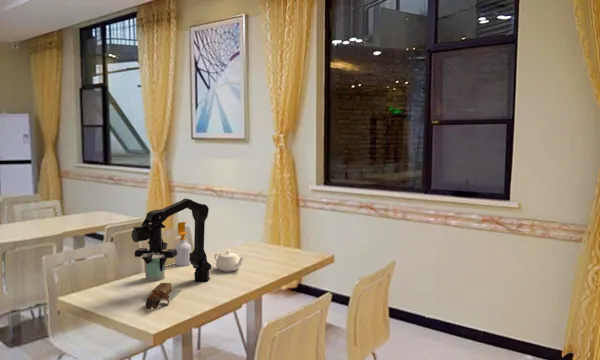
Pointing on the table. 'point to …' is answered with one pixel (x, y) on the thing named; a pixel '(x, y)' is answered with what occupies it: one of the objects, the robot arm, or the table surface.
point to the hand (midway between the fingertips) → (156, 270)
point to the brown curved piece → (156, 299)
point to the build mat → (171, 294)
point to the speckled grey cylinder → (160, 277)
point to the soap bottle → (182, 247)
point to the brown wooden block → (160, 289)
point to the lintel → (154, 268)
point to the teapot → (228, 261)
